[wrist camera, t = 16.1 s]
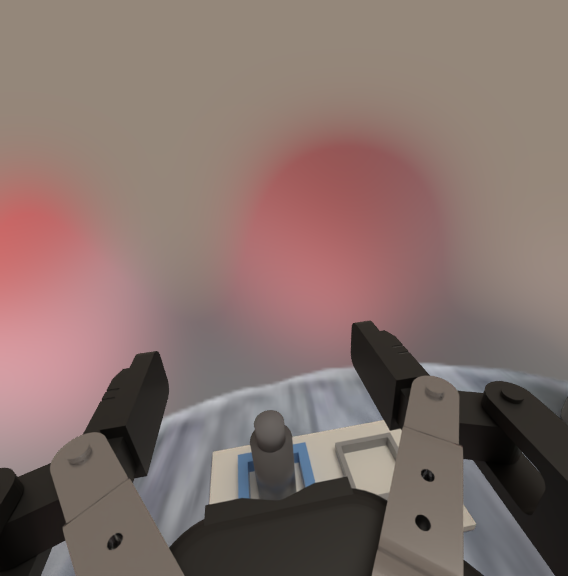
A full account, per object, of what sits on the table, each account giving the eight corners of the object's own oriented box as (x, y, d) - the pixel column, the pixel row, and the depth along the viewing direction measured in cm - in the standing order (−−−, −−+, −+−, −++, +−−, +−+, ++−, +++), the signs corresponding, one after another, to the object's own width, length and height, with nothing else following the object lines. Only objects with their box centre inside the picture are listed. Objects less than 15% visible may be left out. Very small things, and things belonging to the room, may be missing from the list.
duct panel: (404, 420, 44) (407, 406, 42) (474, 529, 31) (480, 513, 30) (214, 456, 40) (210, 441, 39) (205, 593, 28) (199, 578, 27)
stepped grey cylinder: (272, 469, 37) (263, 399, 32) (303, 486, 35) (298, 414, 30) (252, 502, 34) (238, 430, 29) (284, 523, 32) (275, 449, 27)
